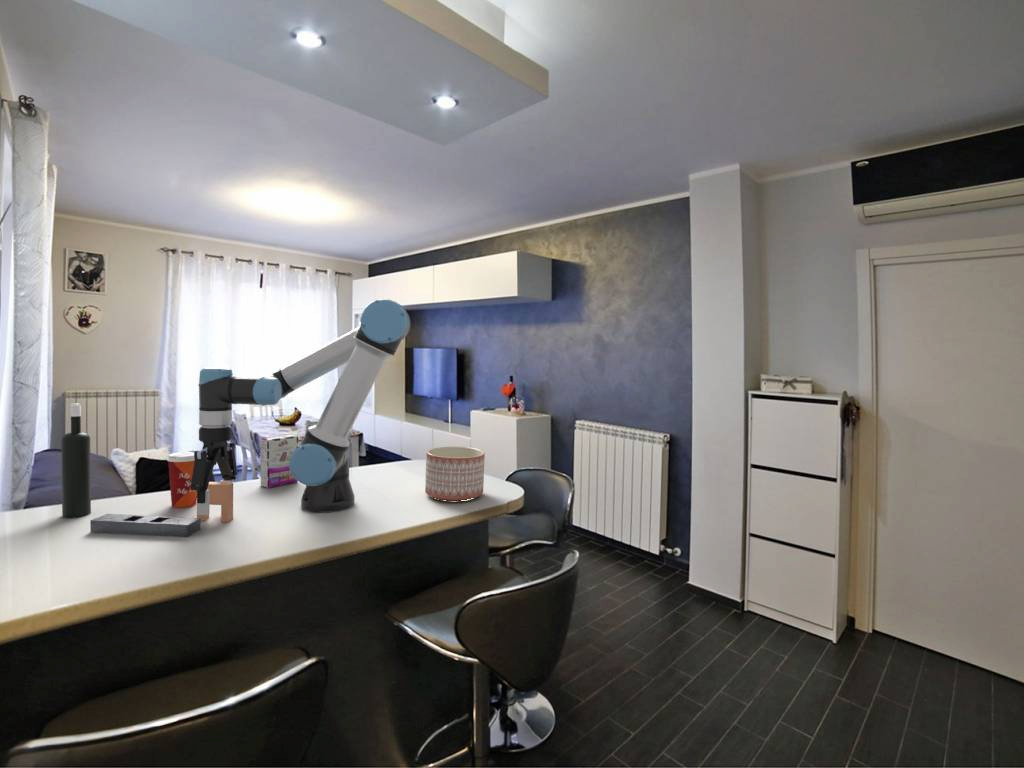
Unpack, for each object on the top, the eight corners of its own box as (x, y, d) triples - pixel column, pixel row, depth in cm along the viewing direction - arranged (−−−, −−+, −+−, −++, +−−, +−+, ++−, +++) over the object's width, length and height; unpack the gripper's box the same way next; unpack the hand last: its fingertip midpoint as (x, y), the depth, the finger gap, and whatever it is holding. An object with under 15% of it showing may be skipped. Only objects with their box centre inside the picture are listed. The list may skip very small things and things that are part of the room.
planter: (494, 494, 168) (496, 451, 167) (458, 508, 152) (460, 460, 151) (450, 484, 178) (451, 444, 177) (412, 496, 162) (414, 451, 161)
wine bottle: (92, 515, 133) (91, 403, 131) (63, 519, 129) (62, 404, 127) (89, 509, 137) (88, 401, 135) (61, 514, 133) (59, 402, 131)
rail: (200, 529, 126) (200, 518, 125) (187, 537, 121) (187, 524, 120) (107, 525, 126) (107, 513, 126) (90, 532, 121) (90, 520, 121)
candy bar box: (289, 479, 176) (290, 434, 175) (298, 482, 173) (298, 435, 172) (259, 486, 167) (259, 437, 166) (267, 488, 164) (268, 439, 163)
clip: (233, 519, 134) (233, 482, 134) (227, 522, 132) (228, 485, 131) (202, 517, 134) (202, 481, 134) (196, 520, 132) (196, 483, 131)
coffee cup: (184, 510, 139) (184, 457, 139) (159, 507, 141) (159, 455, 140) (207, 502, 148) (208, 452, 147) (184, 499, 149) (184, 450, 148)
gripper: (226, 419, 142) (225, 496, 144) (172, 431, 121) (172, 521, 122) (251, 421, 142) (251, 497, 144) (203, 432, 121) (202, 523, 122)
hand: (215, 508), depth 133 cm, fingers open, 9 cm apart
